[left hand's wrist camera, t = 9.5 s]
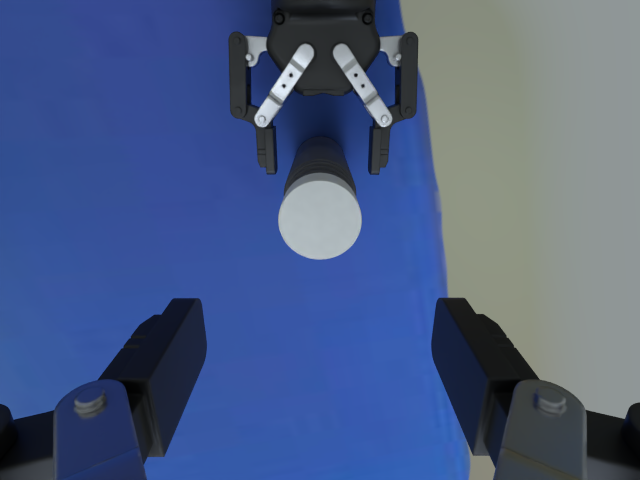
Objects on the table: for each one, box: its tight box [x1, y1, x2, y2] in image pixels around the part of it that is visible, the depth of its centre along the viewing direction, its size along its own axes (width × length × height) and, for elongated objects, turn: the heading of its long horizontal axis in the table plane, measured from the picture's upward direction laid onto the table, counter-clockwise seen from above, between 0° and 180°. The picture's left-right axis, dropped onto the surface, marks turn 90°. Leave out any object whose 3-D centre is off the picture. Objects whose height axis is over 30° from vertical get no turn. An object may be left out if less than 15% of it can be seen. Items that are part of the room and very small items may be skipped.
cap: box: [278, 173, 362, 259], centre depth 22 cm, size 4×4×2 cm
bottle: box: [284, 136, 356, 196], centre depth 30 cm, size 5×5×18 cm
